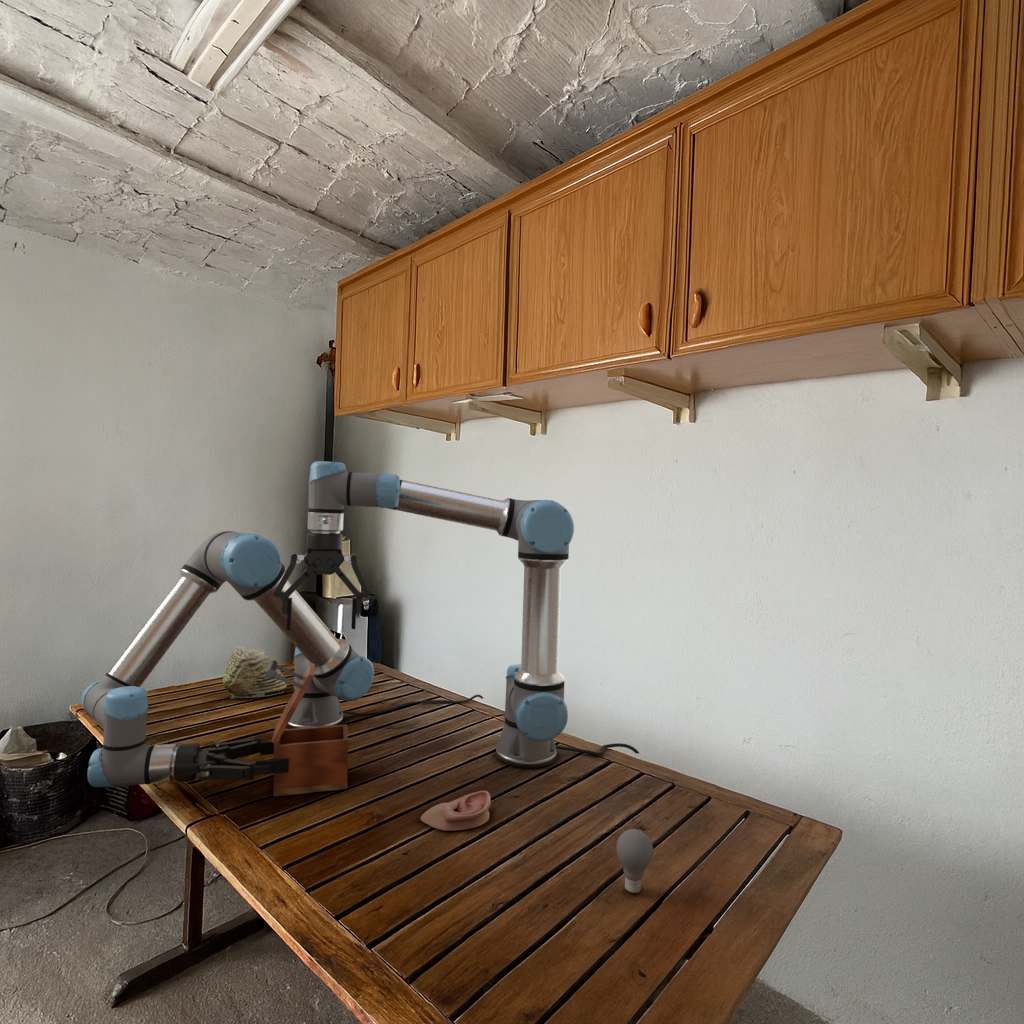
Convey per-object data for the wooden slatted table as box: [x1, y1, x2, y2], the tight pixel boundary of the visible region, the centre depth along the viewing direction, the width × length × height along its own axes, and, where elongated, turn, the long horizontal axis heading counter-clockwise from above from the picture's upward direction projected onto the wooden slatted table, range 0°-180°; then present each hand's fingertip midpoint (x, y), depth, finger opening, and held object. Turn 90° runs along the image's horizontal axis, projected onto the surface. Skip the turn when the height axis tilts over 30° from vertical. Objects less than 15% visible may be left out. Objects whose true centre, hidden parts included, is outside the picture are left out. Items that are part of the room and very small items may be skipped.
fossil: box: [222, 646, 288, 699], centre depth 198 cm, size 9×18×15 cm, turn 132°
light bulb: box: [615, 828, 654, 894], centre depth 106 cm, size 6×6×10 cm
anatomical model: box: [419, 790, 492, 832], centre depth 127 cm, size 13×4×12 cm
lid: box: [266, 659, 315, 744], centre depth 137 cm, size 16×10×9 cm
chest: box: [272, 724, 349, 797], centre depth 140 cm, size 15×10×11 cm, turn 106°
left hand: (289, 755), depth 138 cm, fingers closed on chest, 10 cm apart
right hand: (321, 628), depth 139 cm, fingers open, 13 cm apart
